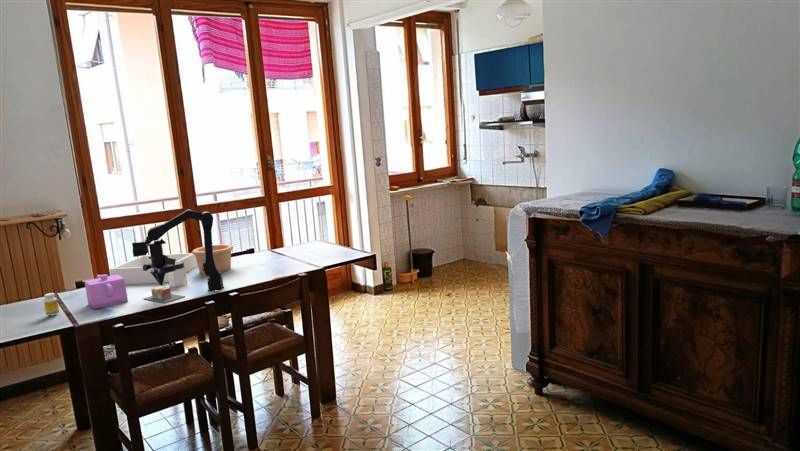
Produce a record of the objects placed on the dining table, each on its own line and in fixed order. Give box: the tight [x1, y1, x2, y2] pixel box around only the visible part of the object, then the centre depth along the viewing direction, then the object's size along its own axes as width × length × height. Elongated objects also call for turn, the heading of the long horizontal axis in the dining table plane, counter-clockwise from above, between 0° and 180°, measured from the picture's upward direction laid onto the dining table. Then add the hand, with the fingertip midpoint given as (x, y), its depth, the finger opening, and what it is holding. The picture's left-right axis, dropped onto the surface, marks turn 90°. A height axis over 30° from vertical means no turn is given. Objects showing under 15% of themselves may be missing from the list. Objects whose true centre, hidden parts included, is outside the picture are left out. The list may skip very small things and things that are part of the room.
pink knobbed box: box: [84, 274, 129, 310], centre depth 280 cm, size 15×25×14 cm, turn 38°
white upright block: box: [168, 262, 188, 288], centre depth 305 cm, size 9×8×12 cm
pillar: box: [150, 285, 172, 299], centre depth 282 cm, size 4×4×9 cm
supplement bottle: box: [43, 292, 60, 316], centre depth 267 cm, size 5×5×10 cm
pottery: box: [191, 243, 234, 276], centre depth 328 cm, size 22×22×14 cm
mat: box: [143, 293, 186, 304], centre depth 281 cm, size 18×11×1 cm, turn 55°
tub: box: [109, 252, 198, 285], centre depth 330 cm, size 34×34×9 cm
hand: (161, 285), depth 281 cm, fingers closed
